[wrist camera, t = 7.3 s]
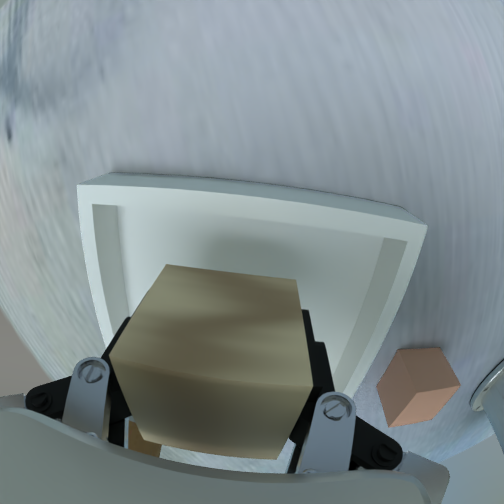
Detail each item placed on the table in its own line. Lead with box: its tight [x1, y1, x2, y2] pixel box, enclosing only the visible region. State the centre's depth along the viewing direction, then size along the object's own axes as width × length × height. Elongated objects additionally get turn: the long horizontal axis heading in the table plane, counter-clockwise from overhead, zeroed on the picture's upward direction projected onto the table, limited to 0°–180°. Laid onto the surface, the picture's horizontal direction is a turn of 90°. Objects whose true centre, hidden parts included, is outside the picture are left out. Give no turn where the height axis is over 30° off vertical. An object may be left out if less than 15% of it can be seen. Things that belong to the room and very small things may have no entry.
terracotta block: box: [376, 347, 461, 428], centre depth 18 cm, size 5×5×5 cm
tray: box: [77, 173, 428, 399], centre depth 17 cm, size 18×16×4 cm
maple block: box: [109, 264, 313, 460], centre depth 9 cm, size 5×5×5 cm
